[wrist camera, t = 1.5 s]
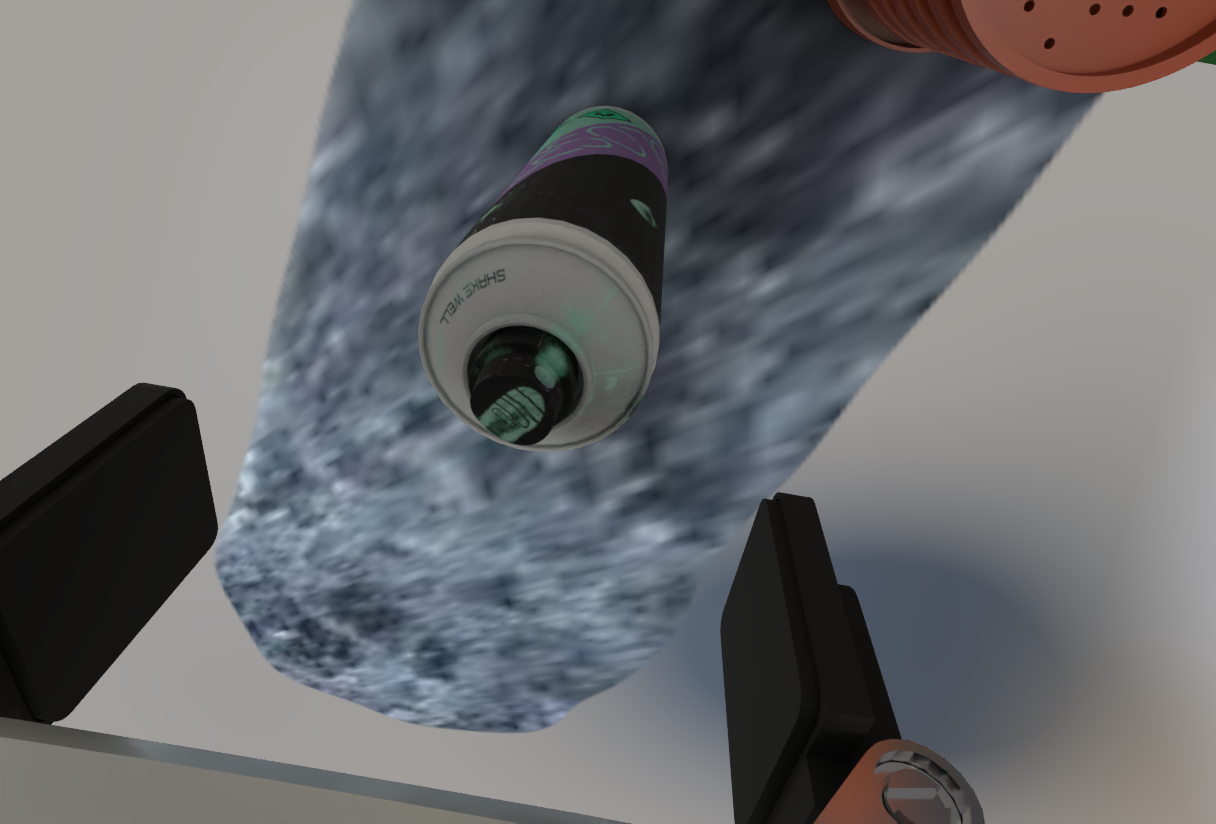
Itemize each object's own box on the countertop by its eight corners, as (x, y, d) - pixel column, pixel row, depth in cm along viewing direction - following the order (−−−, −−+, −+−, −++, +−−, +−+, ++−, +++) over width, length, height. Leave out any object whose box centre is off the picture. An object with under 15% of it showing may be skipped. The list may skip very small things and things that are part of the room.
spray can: (683, 124, 29) (691, 322, 12) (649, 247, 32) (616, 547, 15) (556, 89, 28) (379, 241, 12) (534, 216, 31) (365, 487, 14)
